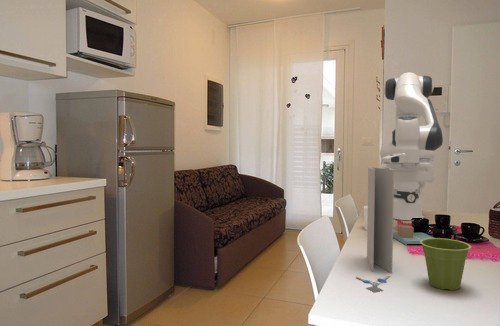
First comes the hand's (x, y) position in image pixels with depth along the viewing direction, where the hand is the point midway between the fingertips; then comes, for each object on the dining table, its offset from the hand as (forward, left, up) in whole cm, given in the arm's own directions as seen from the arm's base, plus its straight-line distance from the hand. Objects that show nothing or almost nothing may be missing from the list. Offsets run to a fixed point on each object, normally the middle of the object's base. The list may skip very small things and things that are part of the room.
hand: (406, 193), depth 142 cm
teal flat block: (0, +7, -18) cm, 20 cm away
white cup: (-19, -6, -19) cm, 27 cm away
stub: (0, 0, -18) cm, 18 cm away
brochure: (+29, -21, -19) cm, 40 cm away
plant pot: (+46, -10, -19) cm, 50 cm away
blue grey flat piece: (+43, -28, -19) cm, 55 cm away
